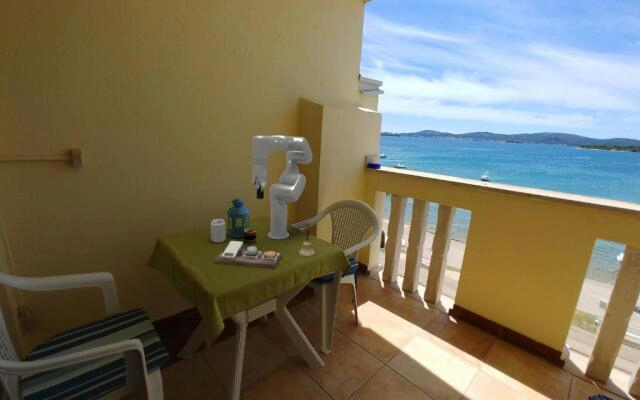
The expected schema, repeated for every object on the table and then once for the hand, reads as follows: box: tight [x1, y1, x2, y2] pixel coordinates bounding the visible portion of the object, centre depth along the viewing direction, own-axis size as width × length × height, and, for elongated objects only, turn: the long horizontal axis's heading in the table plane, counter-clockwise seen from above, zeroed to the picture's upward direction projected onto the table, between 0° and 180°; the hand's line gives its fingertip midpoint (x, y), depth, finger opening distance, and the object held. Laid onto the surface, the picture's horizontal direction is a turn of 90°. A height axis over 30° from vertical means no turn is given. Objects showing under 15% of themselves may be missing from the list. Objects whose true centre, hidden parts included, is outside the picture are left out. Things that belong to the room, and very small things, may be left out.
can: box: [210, 218, 227, 244], centre depth 143 cm, size 8×8×12 cm
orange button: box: [266, 250, 276, 258], centre depth 123 cm, size 4×4×2 cm
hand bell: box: [298, 222, 316, 257], centre depth 134 cm, size 8×8×16 cm
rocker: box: [222, 240, 244, 259], centre depth 124 cm, size 11×6×1 cm, turn 175°
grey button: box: [246, 245, 258, 255], centre depth 124 cm, size 4×4×2 cm
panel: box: [213, 246, 282, 270], centre depth 124 cm, size 13×28×5 cm, turn 85°
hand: (260, 198), depth 132 cm, fingers closed
